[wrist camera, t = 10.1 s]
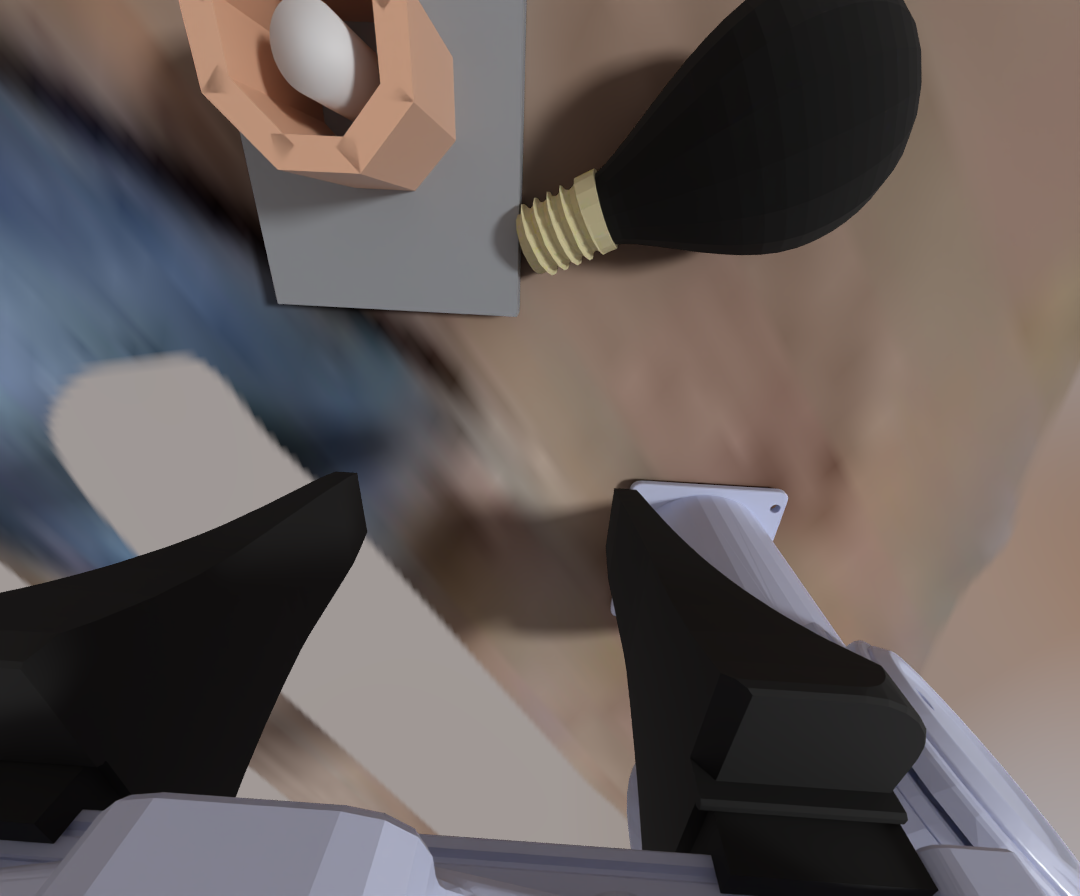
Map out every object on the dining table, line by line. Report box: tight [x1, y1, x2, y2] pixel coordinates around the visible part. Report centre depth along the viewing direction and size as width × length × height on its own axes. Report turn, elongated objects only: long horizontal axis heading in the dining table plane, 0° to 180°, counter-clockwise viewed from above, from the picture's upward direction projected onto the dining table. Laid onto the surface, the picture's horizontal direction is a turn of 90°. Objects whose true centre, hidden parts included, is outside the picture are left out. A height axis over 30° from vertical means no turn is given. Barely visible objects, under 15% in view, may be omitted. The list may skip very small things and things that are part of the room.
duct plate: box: [240, 0, 526, 317], centre depth 13 cm, size 14×10×5 cm
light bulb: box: [516, 0, 921, 275], centre depth 14 cm, size 7×7×12 cm
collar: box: [179, 0, 456, 191], centre depth 12 cm, size 6×5×5 cm
